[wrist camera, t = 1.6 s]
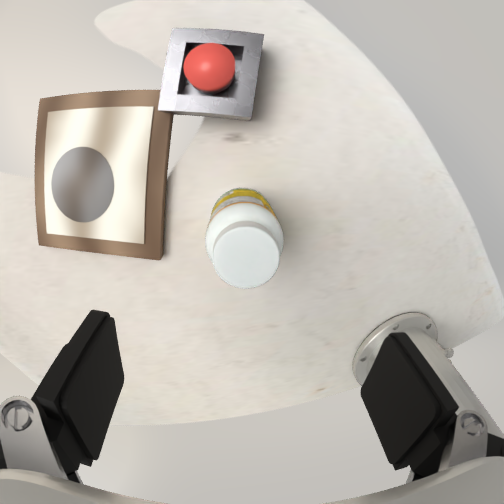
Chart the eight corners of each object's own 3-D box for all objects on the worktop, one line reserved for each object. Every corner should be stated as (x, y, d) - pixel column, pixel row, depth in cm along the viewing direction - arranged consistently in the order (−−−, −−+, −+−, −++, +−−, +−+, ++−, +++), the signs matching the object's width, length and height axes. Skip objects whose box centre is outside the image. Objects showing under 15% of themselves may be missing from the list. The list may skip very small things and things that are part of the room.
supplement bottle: (213, 185, 25) (202, 210, 16) (275, 189, 25) (297, 217, 16) (210, 243, 27) (199, 295, 18) (268, 247, 27) (285, 300, 18)
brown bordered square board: (176, 92, 22) (173, 89, 20) (162, 255, 27) (159, 261, 26) (46, 99, 20) (38, 98, 19) (44, 241, 26) (37, 246, 24)
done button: (238, 54, 19) (238, 45, 17) (231, 95, 20) (231, 90, 18) (192, 51, 18) (187, 41, 16) (185, 92, 20) (179, 86, 17)
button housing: (260, 47, 21) (264, 34, 17) (249, 121, 23) (251, 117, 20) (180, 41, 20) (172, 28, 17) (168, 114, 22) (157, 110, 19)
